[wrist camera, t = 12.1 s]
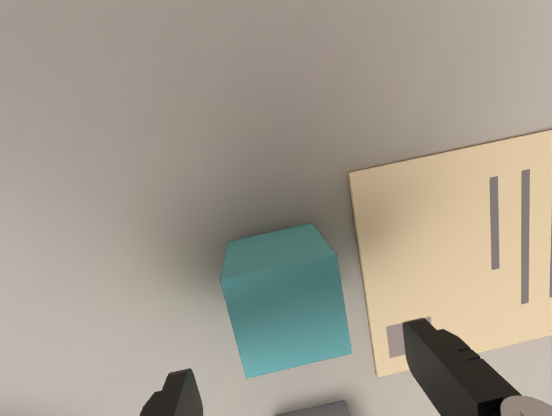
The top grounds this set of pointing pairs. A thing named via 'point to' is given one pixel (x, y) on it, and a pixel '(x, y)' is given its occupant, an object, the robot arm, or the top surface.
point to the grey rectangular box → (322, 410)
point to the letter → (457, 245)
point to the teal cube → (284, 300)
